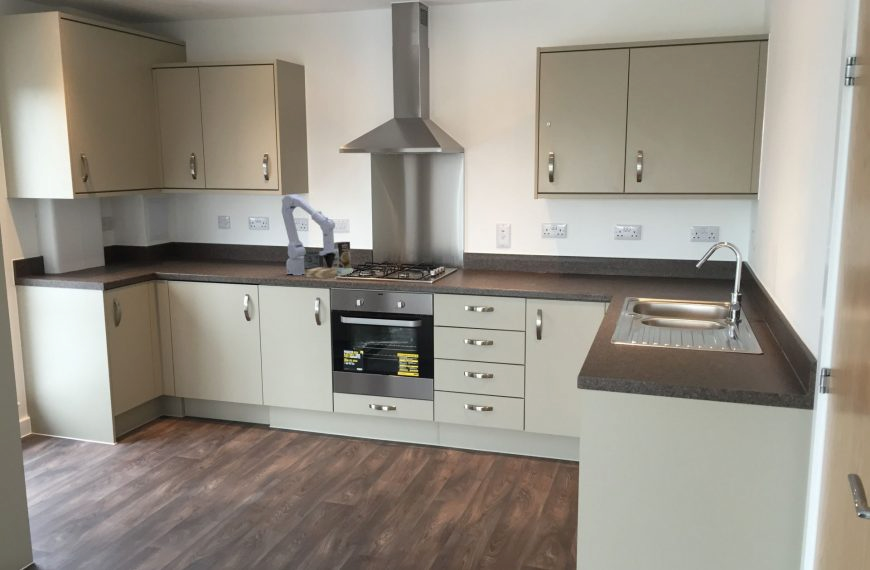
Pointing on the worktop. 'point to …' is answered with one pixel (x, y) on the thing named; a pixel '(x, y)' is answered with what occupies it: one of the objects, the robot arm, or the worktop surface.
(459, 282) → the worktop surface
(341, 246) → the coffee box
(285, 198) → the robot arm
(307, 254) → the small box
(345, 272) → the tray
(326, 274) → the tan flat block
